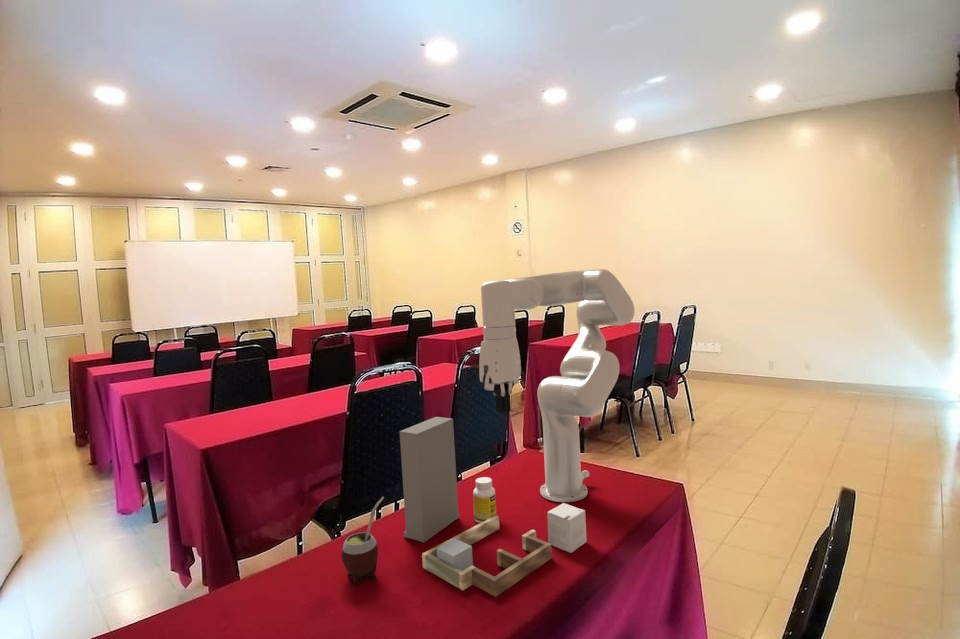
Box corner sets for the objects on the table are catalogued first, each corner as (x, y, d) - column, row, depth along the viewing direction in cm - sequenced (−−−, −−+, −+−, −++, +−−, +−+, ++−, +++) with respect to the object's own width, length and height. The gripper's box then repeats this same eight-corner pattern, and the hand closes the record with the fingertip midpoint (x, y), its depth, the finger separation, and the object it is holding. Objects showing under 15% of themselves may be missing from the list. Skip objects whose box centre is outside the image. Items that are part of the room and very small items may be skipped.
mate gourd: (336, 585, 99) (331, 510, 98) (357, 563, 107) (352, 494, 106) (371, 589, 97) (366, 513, 96) (389, 567, 105) (384, 496, 104)
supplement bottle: (494, 524, 121) (492, 484, 120) (472, 524, 122) (470, 484, 121) (498, 514, 126) (496, 476, 125) (476, 513, 127) (474, 475, 126)
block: (456, 561, 106) (454, 538, 105) (473, 570, 102) (471, 546, 102) (438, 572, 102) (436, 548, 102) (454, 581, 99) (453, 556, 98)
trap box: (496, 527, 119) (495, 515, 119) (559, 553, 107) (558, 539, 106) (422, 567, 104) (422, 553, 104) (486, 603, 91) (485, 587, 91)
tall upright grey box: (439, 513, 129) (433, 416, 127) (459, 518, 125) (453, 418, 124) (403, 537, 117) (396, 431, 115) (424, 543, 114) (417, 434, 112)
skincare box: (564, 533, 115) (562, 502, 114) (587, 542, 110) (586, 509, 110) (547, 544, 110) (546, 511, 110) (571, 553, 106) (569, 519, 106)
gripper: (508, 330, 126) (512, 403, 127) (465, 336, 115) (469, 416, 117) (532, 330, 121) (536, 407, 122) (488, 338, 110) (493, 421, 111)
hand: (503, 411), depth 119 cm, fingers closed
